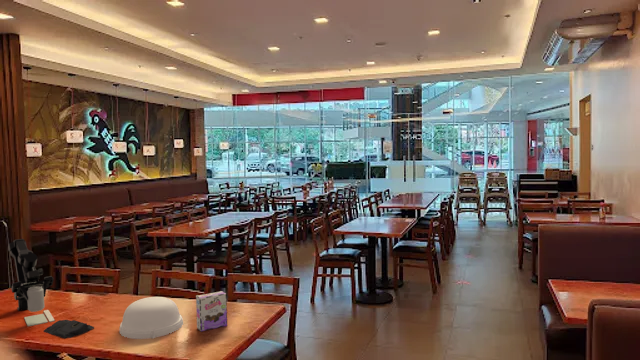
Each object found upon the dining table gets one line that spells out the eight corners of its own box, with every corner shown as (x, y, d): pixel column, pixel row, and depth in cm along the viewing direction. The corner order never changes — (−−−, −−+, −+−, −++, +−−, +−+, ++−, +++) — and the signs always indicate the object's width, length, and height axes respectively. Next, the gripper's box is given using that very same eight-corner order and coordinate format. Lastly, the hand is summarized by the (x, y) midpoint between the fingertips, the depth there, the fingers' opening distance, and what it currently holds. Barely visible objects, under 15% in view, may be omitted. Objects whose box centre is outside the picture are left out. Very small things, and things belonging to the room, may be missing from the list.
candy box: (200, 331, 233) (199, 298, 232) (196, 328, 238) (195, 295, 237) (227, 325, 240) (226, 293, 239) (223, 322, 245) (222, 290, 244)
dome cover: (120, 321, 250) (118, 295, 249) (180, 313, 261) (179, 287, 260) (118, 344, 220) (117, 314, 220) (186, 333, 231) (185, 305, 230)
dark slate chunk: (70, 322, 252) (69, 313, 251) (96, 329, 240) (96, 320, 240) (40, 332, 238) (40, 323, 238) (67, 340, 227) (66, 330, 227)
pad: (24, 318, 259) (24, 317, 259) (43, 314, 264) (43, 313, 264) (27, 326, 246) (27, 325, 246) (47, 322, 251) (47, 321, 251)
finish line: (43, 311, 269) (43, 310, 269) (48, 310, 271) (48, 309, 271) (49, 322, 252) (49, 321, 252) (54, 320, 253) (54, 320, 253)
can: (32, 313, 246) (30, 290, 246) (25, 310, 251) (23, 287, 250) (47, 309, 252) (46, 286, 252) (40, 306, 257) (39, 284, 256)
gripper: (11, 267, 247) (17, 293, 239) (51, 261, 259) (58, 285, 252) (9, 279, 253) (14, 305, 246) (48, 272, 266) (55, 297, 258)
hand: (36, 297), depth 250 cm, fingers closed on can, 7 cm apart
